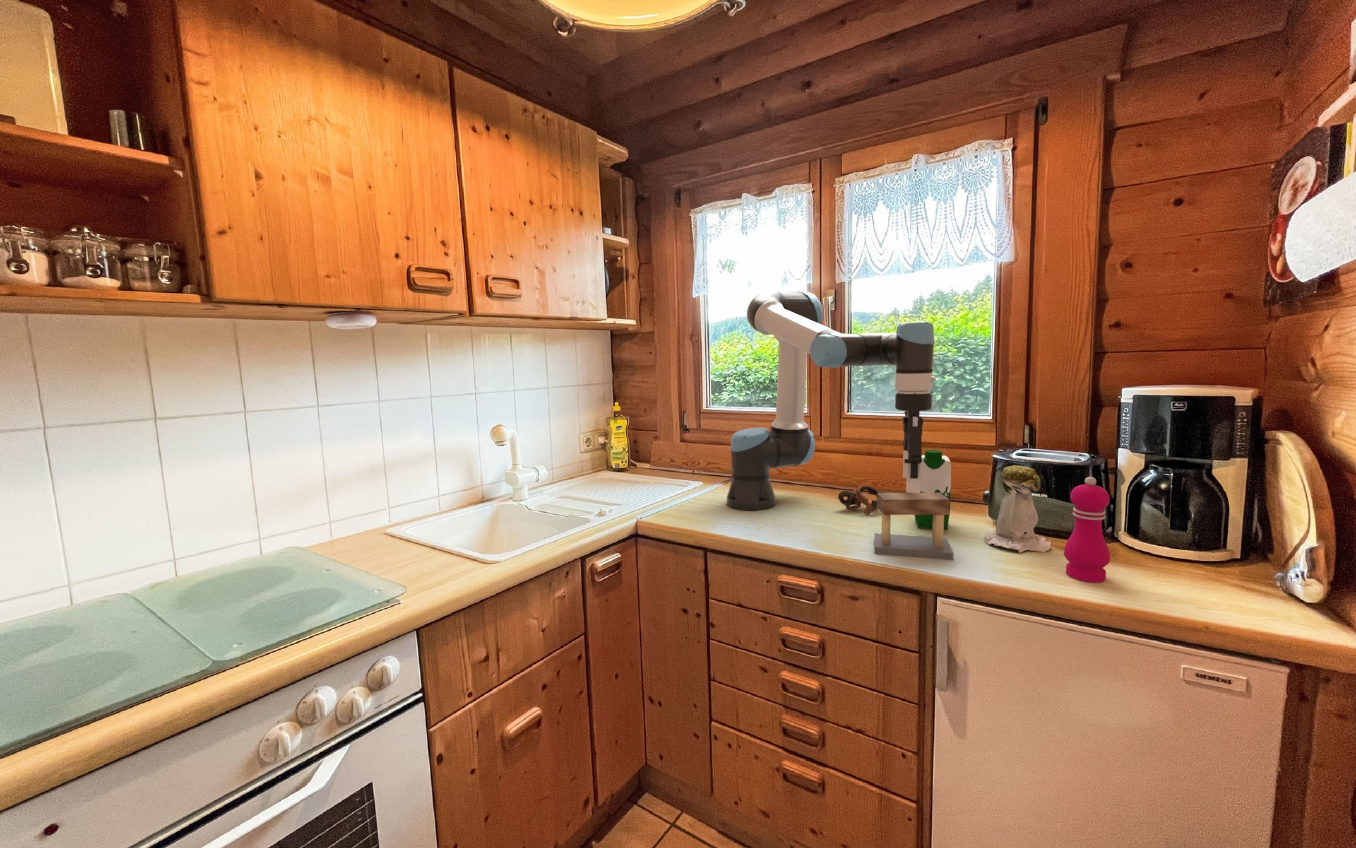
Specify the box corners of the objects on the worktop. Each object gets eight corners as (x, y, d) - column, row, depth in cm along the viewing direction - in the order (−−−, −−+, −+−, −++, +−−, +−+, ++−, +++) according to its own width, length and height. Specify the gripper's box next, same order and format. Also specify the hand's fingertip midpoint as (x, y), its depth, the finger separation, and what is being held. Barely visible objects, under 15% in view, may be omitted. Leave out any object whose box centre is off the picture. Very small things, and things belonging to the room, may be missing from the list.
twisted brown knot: (867, 505, 161) (879, 485, 156) (876, 528, 153) (889, 507, 148) (830, 498, 160) (841, 477, 155) (837, 520, 152) (848, 498, 147)
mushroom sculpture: (973, 537, 129) (975, 462, 127) (1023, 534, 130) (1026, 460, 128) (1006, 554, 117) (1009, 472, 115) (1061, 551, 118) (1065, 469, 116)
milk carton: (914, 529, 136) (915, 452, 134) (911, 518, 145) (912, 446, 142) (952, 531, 133) (954, 453, 131) (946, 520, 142) (948, 447, 140)
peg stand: (874, 553, 121) (874, 515, 120) (874, 539, 130) (874, 503, 129) (953, 559, 115) (953, 519, 114) (946, 544, 124) (947, 507, 123)
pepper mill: (1053, 570, 108) (1058, 474, 105) (1086, 568, 108) (1092, 472, 106) (1083, 585, 101) (1089, 482, 98) (1119, 582, 101) (1125, 480, 99)
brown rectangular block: (939, 507, 124) (939, 492, 123) (949, 514, 118) (949, 499, 117) (877, 507, 125) (877, 493, 125) (883, 514, 119) (883, 499, 119)
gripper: (938, 397, 105) (935, 500, 108) (926, 387, 129) (923, 473, 131) (898, 397, 108) (895, 498, 111) (893, 388, 131) (891, 471, 134)
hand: (910, 484), depth 121 cm, fingers open, 13 cm apart
